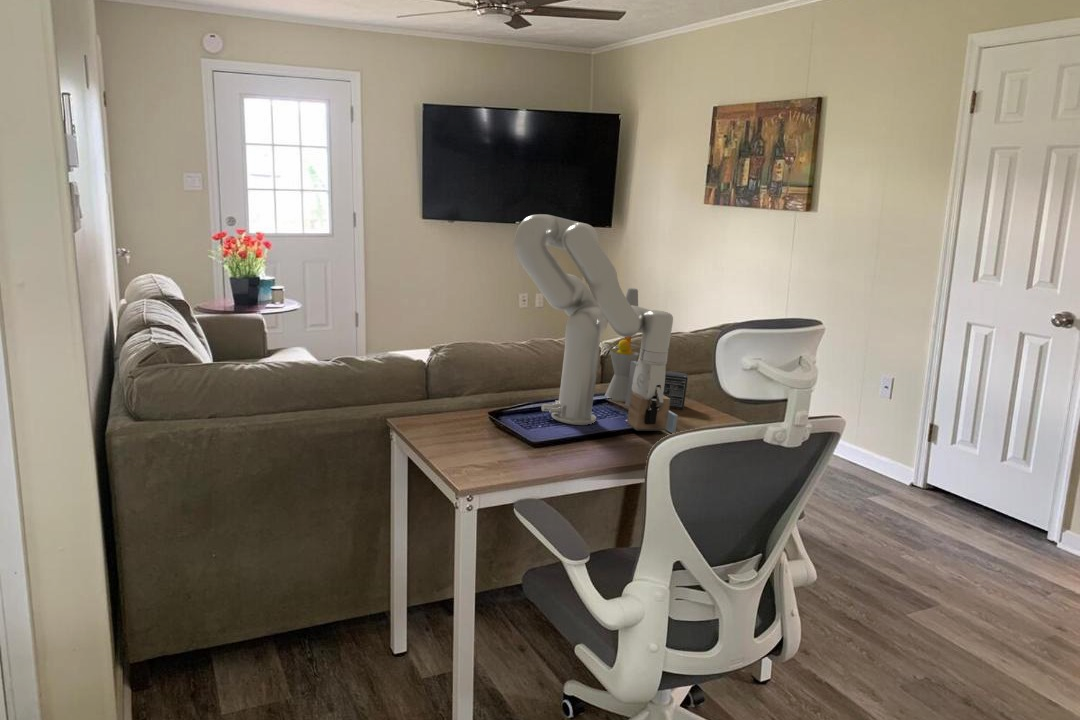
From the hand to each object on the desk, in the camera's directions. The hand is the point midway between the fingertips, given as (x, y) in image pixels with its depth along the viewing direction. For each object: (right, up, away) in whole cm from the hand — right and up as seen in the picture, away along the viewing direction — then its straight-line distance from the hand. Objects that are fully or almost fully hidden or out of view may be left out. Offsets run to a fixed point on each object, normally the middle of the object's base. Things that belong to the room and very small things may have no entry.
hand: (643, 419), depth 223 cm
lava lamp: (-4, +4, +34) cm, 35 cm away
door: (+6, -2, +8) cm, 10 cm away
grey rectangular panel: (0, +1, +22) cm, 22 cm away
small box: (+11, +2, +32) cm, 34 cm away
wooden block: (+1, -2, +1) cm, 2 cm away
